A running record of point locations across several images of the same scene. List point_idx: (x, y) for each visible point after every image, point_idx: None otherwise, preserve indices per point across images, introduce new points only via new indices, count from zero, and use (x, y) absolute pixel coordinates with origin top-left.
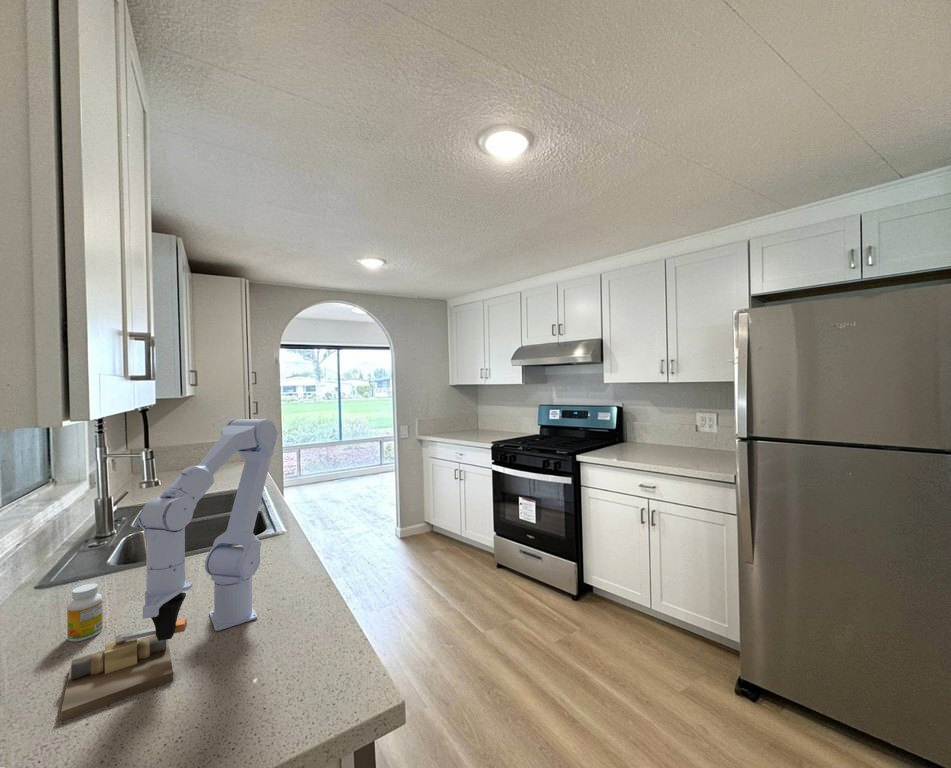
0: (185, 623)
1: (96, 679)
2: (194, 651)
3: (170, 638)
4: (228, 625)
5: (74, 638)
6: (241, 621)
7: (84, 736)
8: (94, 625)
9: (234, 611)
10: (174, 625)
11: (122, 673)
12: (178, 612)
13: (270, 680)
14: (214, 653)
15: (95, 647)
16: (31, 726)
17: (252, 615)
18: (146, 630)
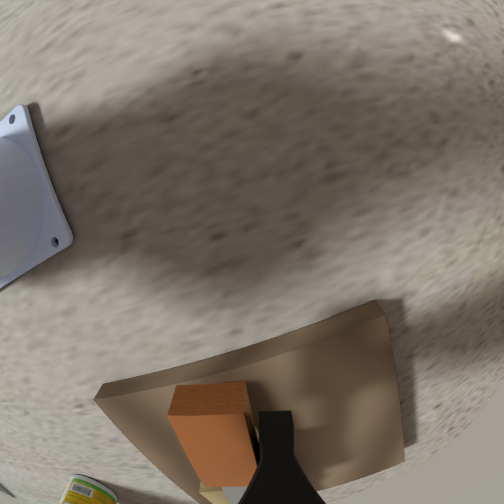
0: (205, 403)
1: (313, 468)
2: (195, 285)
3: (291, 413)
4: (51, 199)
5: (116, 501)
6: (36, 154)
7: (469, 389)
8: (91, 497)
9: (6, 186)
10: (290, 452)
11: (315, 439)
12: (252, 500)
13: (458, 4)
14: (237, 197)
15: (134, 480)
16: (382, 471)
17: (11, 126)
18: (235, 496)
